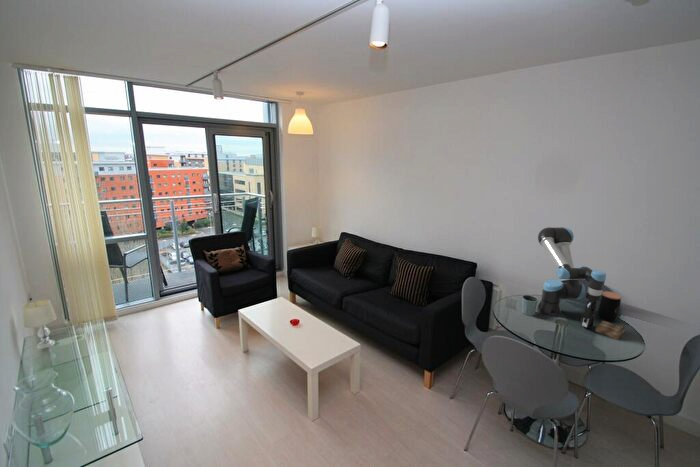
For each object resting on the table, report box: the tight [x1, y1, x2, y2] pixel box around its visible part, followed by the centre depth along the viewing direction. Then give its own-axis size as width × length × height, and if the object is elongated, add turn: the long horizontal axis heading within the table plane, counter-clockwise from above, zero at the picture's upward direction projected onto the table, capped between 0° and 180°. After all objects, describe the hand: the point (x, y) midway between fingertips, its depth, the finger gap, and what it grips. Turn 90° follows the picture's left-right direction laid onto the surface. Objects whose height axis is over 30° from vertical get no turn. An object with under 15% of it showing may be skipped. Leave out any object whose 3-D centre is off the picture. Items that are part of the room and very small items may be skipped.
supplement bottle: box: [580, 309, 596, 328], centre depth 214 cm, size 7×7×12 cm
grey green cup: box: [521, 294, 539, 317], centre depth 233 cm, size 10×10×12 cm
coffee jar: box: [597, 290, 622, 322], centre depth 225 cm, size 11×11×18 cm
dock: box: [595, 320, 626, 341], centre depth 210 cm, size 12×13×5 cm
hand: (586, 324), depth 216 cm, fingers closed on supplement bottle, 7 cm apart
